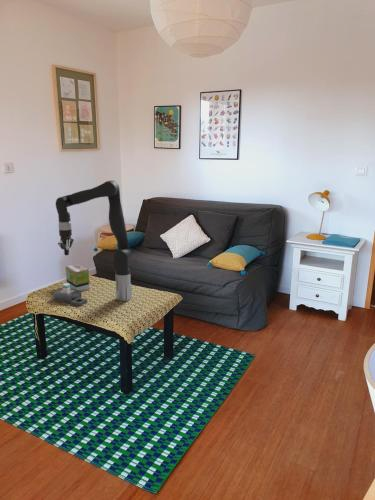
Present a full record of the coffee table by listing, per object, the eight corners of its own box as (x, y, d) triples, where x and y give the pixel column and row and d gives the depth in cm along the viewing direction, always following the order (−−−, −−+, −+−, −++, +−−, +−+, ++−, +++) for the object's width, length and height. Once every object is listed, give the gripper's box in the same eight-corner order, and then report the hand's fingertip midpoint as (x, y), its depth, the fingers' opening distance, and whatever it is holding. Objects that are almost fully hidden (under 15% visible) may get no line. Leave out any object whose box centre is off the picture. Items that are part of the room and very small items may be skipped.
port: (81, 297, 249) (81, 290, 247) (71, 303, 240) (71, 295, 238) (63, 294, 253) (63, 286, 252) (53, 299, 244) (52, 292, 243)
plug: (70, 296, 247) (70, 283, 245) (67, 298, 244) (66, 285, 242) (66, 296, 248) (65, 282, 246) (63, 298, 245) (62, 284, 243)
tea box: (66, 286, 268) (64, 266, 264) (79, 283, 274) (78, 263, 270) (76, 292, 257) (75, 271, 253) (90, 289, 264) (89, 268, 260)
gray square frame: (87, 302, 242) (87, 299, 241) (80, 306, 236) (80, 303, 235) (77, 300, 244) (77, 297, 244) (70, 304, 238) (70, 301, 238)
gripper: (63, 231, 235) (65, 258, 240) (76, 227, 247) (78, 253, 252) (53, 229, 238) (55, 256, 242) (66, 225, 250) (68, 251, 254)
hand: (66, 254), depth 247 cm, fingers closed
